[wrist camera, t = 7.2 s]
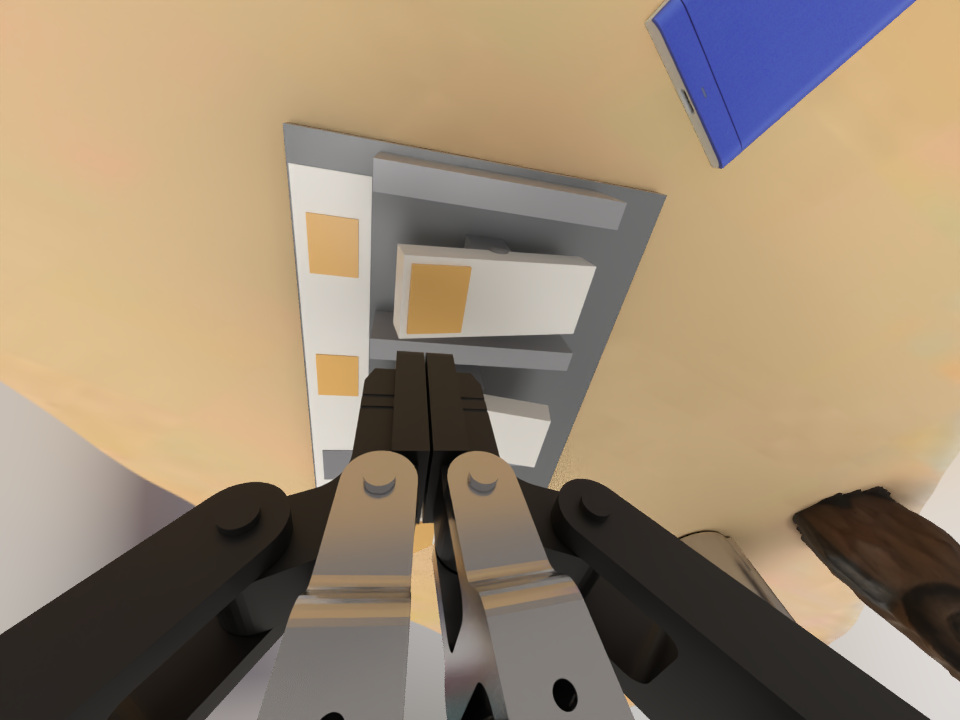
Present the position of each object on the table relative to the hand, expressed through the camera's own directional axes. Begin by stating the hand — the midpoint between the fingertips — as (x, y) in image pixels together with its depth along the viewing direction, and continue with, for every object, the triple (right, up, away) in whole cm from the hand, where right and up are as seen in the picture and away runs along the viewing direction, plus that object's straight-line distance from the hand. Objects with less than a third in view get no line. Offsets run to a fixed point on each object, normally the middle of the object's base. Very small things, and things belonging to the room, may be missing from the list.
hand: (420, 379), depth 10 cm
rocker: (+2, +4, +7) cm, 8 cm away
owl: (+46, -19, +36) cm, 62 cm away
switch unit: (0, 0, +15) cm, 15 cm away
